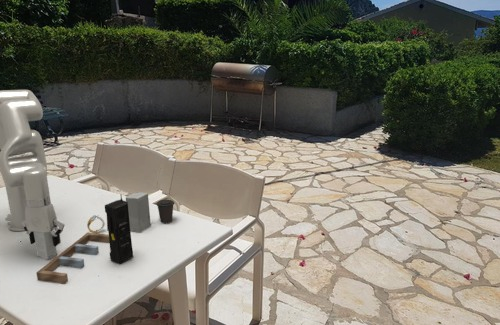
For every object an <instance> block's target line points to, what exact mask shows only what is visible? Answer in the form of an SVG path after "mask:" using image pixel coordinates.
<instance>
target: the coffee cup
mask: <svg viewBox="0 0 500 325" xmlns="http://www.w3.org/2000/svg"><path fill="white" fill-rule="evenodd" d="M174 204H175V202H174V200H172V199H161V200H158V201H157V202H156V206H157V209H158V215H159V221H160V223H161V224H170V223H172V222H173V213H174Z"/></svg>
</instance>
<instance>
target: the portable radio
mask: <svg viewBox="0 0 500 325" xmlns="http://www.w3.org/2000/svg"><path fill="white" fill-rule="evenodd" d="M104 212H105V214H106V229H107V233H108V235H109V242H110V243H109V259H110V261H112V262H113V263H116V264H118V265H120V264H123V263H124V262H126V261H128V260H130V259H131V258H133V257H134V251H133V250H134V249H133V243H132V242H133V241H132V235H131V231H130V222H129V211H128V202H126V200H123V198H122V195H120V199H117V200H115V201H112V202H109V203H107V204H104Z"/></svg>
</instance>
